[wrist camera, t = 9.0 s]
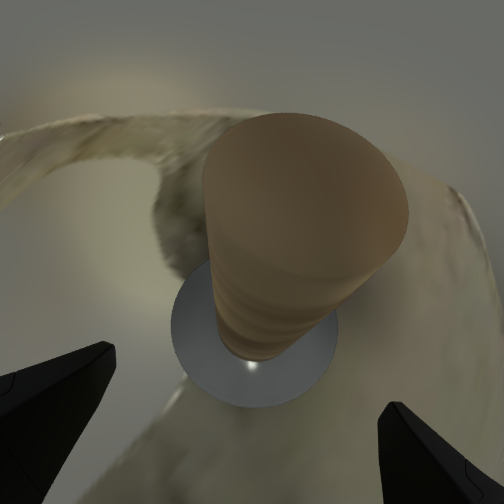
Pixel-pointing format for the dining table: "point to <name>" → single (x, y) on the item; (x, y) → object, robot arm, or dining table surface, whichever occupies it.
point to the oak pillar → (294, 226)
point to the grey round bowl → (238, 370)
